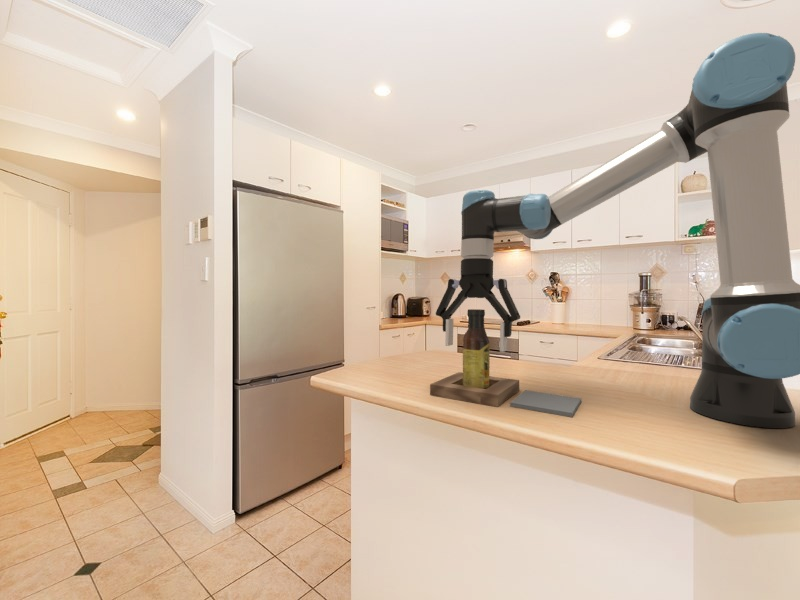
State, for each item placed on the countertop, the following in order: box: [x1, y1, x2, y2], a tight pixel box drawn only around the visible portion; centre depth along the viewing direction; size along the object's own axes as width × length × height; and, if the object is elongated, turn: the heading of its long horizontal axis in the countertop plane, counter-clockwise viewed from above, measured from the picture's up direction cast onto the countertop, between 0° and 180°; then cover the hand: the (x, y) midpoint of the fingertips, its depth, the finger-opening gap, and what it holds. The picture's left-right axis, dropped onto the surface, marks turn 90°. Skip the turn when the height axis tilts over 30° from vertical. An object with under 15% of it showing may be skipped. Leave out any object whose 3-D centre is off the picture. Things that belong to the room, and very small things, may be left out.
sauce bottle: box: [462, 308, 491, 389], centre depth 88 cm, size 7×6×20 cm
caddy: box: [429, 371, 520, 408], centre depth 88 cm, size 16×16×2 cm
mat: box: [509, 389, 582, 418], centre depth 79 cm, size 12×12×1 cm
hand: (475, 348), depth 88 cm, fingers open, 13 cm apart
